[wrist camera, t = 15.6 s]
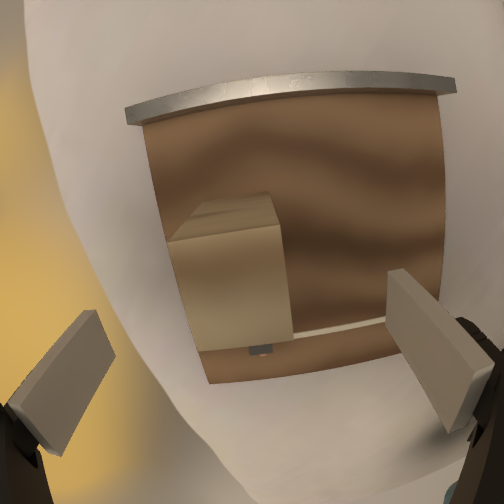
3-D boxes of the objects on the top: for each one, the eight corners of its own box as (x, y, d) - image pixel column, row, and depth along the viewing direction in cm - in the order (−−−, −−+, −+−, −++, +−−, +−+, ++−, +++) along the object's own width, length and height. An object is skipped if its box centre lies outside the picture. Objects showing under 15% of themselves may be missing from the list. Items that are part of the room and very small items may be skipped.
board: (427, 340, 28) (442, 360, 25) (209, 378, 30) (205, 405, 26) (429, 83, 19) (454, 78, 16) (143, 112, 21) (124, 108, 17)
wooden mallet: (288, 338, 27) (302, 423, 17) (233, 345, 27) (226, 431, 17) (268, 191, 22) (280, 224, 13) (202, 201, 22) (166, 242, 13)
